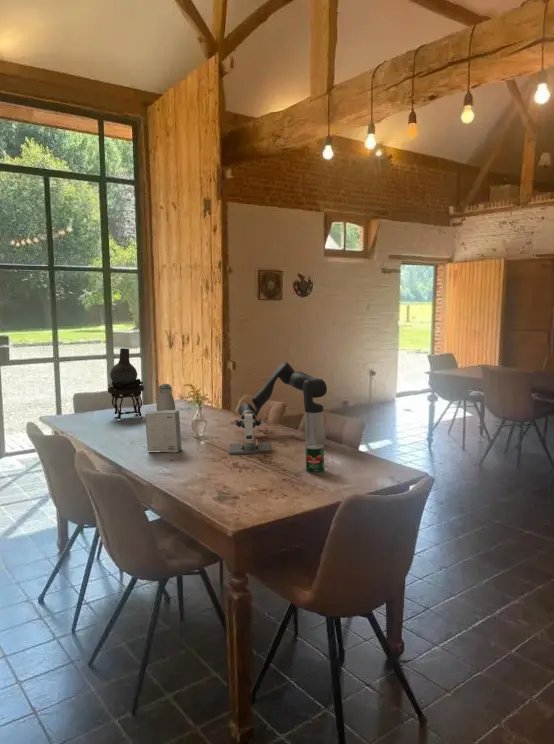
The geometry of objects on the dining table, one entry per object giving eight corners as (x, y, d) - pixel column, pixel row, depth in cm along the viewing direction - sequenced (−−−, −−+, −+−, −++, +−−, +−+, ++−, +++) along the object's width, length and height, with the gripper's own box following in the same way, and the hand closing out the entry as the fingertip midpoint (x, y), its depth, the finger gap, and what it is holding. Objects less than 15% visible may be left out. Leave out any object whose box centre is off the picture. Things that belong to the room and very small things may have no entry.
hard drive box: (182, 449, 289) (179, 410, 286) (178, 453, 281) (175, 413, 279) (152, 449, 290) (149, 410, 288) (147, 453, 283) (144, 413, 280)
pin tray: (229, 446, 291) (229, 438, 290) (269, 444, 292) (268, 436, 292) (229, 454, 275) (228, 446, 275) (270, 452, 276) (270, 444, 276)
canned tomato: (309, 474, 240) (308, 449, 239) (303, 469, 248) (302, 444, 246) (327, 472, 242) (326, 447, 241) (320, 467, 250) (320, 442, 248)
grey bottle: (164, 435, 318) (161, 385, 315) (155, 432, 326) (152, 384, 322) (179, 432, 324) (176, 383, 321) (170, 429, 332) (168, 382, 329)
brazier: (111, 415, 379) (106, 347, 374) (146, 413, 383) (142, 346, 378) (108, 422, 358) (102, 350, 352) (145, 420, 361) (140, 349, 356)
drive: (245, 437, 286) (244, 413, 284) (253, 437, 286) (252, 413, 285) (245, 440, 280) (244, 416, 278) (253, 440, 280) (252, 416, 278)
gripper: (234, 411, 295) (233, 419, 278) (261, 410, 296) (263, 418, 279) (234, 426, 296) (234, 434, 279) (262, 424, 297) (263, 433, 280)
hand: (248, 426), depth 279 cm, fingers closed on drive, 4 cm apart
